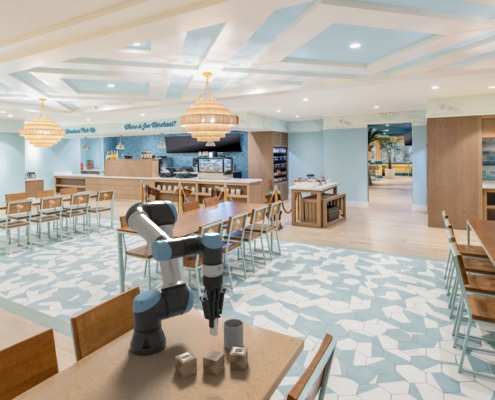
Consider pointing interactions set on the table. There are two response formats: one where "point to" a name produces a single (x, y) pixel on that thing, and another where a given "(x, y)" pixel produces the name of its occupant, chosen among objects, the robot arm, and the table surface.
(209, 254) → the robot arm
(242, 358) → the numbered block
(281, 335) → the table surface
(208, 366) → the plain block
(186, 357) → the numbered block
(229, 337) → the cup
